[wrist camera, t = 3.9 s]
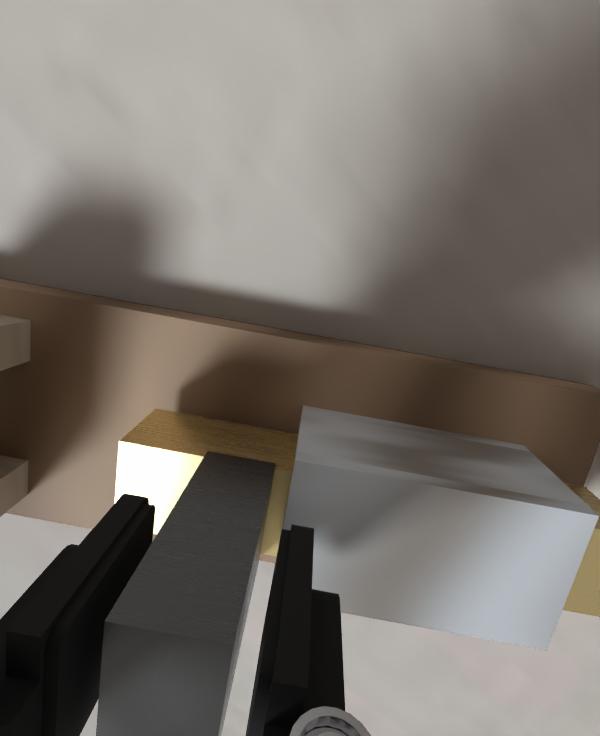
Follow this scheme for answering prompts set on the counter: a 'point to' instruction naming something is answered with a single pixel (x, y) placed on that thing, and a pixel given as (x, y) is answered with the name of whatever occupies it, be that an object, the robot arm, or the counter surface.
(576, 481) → the sliding bolt latch
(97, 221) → the counter surface
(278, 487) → the brass bolt with handle
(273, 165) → the counter surface
